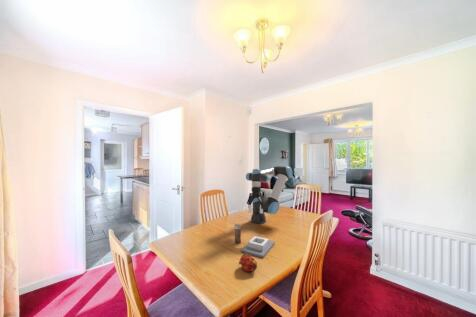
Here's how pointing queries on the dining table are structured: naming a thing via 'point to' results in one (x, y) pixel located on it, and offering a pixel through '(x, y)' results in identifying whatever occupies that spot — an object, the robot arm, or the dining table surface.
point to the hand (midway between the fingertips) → (255, 213)
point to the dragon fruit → (248, 263)
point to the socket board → (258, 252)
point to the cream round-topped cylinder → (237, 233)
